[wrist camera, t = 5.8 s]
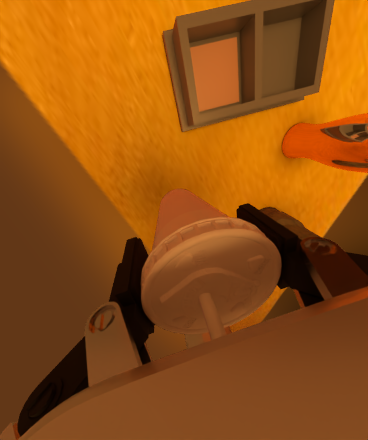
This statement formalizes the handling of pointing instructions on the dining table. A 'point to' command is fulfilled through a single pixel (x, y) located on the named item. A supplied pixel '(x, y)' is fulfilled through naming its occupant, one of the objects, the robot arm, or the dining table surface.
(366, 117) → the beer glass
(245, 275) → the smoothie
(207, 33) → the drink carrier
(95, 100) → the dining table surface
